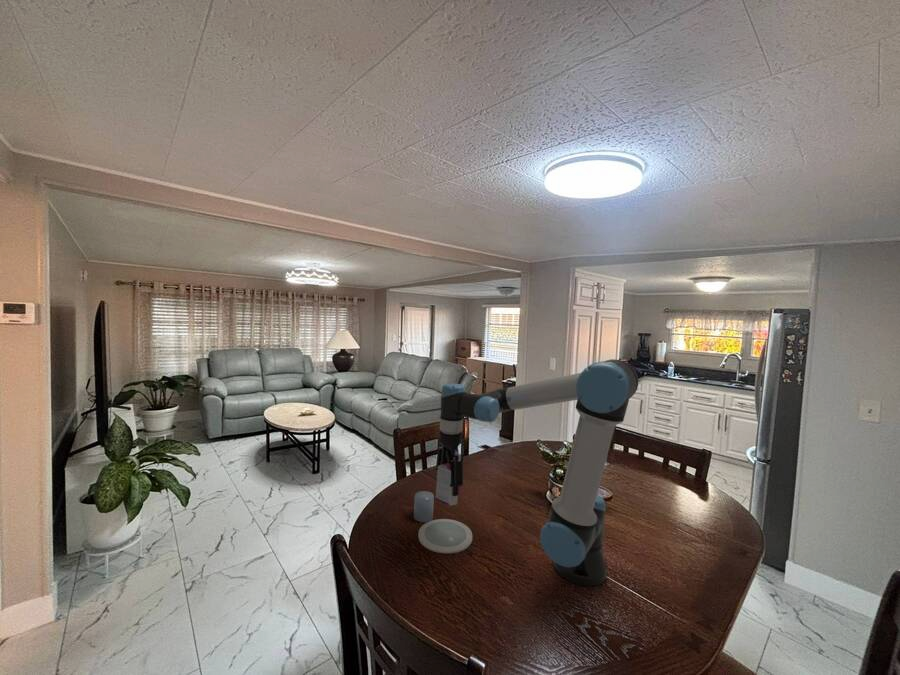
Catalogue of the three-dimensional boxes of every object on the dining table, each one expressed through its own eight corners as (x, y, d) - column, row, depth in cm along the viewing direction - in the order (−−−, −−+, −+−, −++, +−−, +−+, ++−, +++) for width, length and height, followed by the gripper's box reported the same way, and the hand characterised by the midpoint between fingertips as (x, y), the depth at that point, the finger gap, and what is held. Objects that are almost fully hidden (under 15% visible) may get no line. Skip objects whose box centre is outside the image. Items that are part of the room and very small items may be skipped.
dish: (482, 545, 121) (482, 541, 121) (432, 559, 113) (432, 555, 113) (456, 517, 137) (456, 514, 137) (410, 528, 129) (410, 524, 129)
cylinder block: (436, 519, 135) (437, 498, 135) (418, 523, 132) (419, 501, 131) (428, 510, 141) (429, 489, 141) (410, 514, 138) (411, 493, 138)
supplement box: (449, 505, 120) (450, 470, 120) (435, 499, 124) (436, 465, 123) (459, 499, 125) (461, 465, 124) (445, 493, 128) (447, 460, 128)
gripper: (476, 439, 116) (472, 511, 117) (447, 421, 134) (444, 484, 135) (455, 442, 112) (451, 516, 114) (428, 423, 130) (424, 487, 132)
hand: (447, 498), depth 124 cm, fingers closed on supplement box, 7 cm apart
